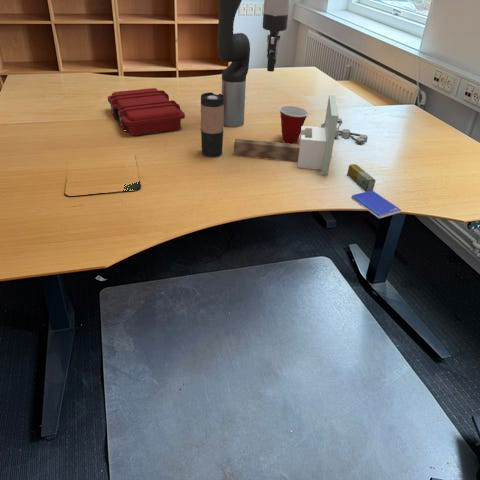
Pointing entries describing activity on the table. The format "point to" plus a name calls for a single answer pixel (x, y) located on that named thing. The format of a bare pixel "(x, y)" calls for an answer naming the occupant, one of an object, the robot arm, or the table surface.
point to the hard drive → (376, 204)
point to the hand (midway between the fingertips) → (271, 67)
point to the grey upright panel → (319, 141)
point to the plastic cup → (292, 122)
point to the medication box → (361, 177)
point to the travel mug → (212, 124)
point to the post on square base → (266, 149)
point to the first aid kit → (145, 111)
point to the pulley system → (348, 133)
